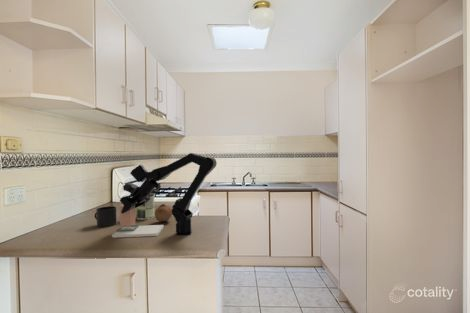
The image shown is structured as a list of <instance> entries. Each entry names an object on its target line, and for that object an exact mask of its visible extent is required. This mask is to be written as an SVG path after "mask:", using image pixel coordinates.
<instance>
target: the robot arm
mask: <svg viewBox="0 0 470 313" xmlns="http://www.w3.org/2000/svg"><path fill="white" fill-rule="evenodd" d="M192 163H194V164H195V165H197V166H199V167H198V170H197V174H196V175H195V177H194V178H193V180H192V182H191V183H190V185H189V187H188V188H187V189H186V192H185V193H184V195H183V197H182V198H181V197H179V198H177V199H176V200H175V201H174V204H173V206H171V209H172V216H173V217H174V220H175V222H176V223H175V233H176V236H180V235H181V236H182V235H185V236H186V235H191V234H192V232H193V229H192V217H193V212H192V211H191V210H190V206H191V203H192V200H193V198H194V196H195V195H196V194H197V192H198V190H199V188H200V187H201V186H202V184H203V182H204V181H205V179H206V178H207V176H208V175H209V174H211V173H212V172H213V170H214V169H215V168H216V167H217V164H218V163H217V160H216V159H215V157H213V156H208V157H207V156H206V157H205V156H203V155H199V154H197V153H194V152H193V153H192V152H189V153H188V154H187V155H185V156H184V157H181V158H179V159H177V160H175V161H173V162H171V163H170V164H168V165H165V166H161V167H158V168H154V169H152V170H151V171H148V170H147V169H146V168H145V166H144V165H143V164H139V165H138V166H136V167H134V168H133V169H132V170H131V171H130V175H131V176H132V177H133V178H134V179H135V181H137V182H138V183H141V185H140V186H138V185H137V184H134V183H132V182H127V183H124V185H122V187H123V191H126V192H128V193H129V195H125V196H122V197H121V198H119V202H120V203H121V205H124V206H123V209H122V211H121V213H122V214H123V213H125V212H127V211H129V210H131V209H133V208H135V209H136V208H137V207H139V206H141V205H143V204H144V202H143V201H145V200H146V201H145V203H147V202H148V201H149V200H150V197H149V195H150V193H153V191H154V190H155V189H156V190H159V189H161V182H160V181H163V180H165V179H167V178H168V177H169V176H170V175H171V174H172V173H174V172H176V171H178V170H179V169H181V168H184V167H186V166H188V165H190V164H192ZM134 206H135V207H134Z"/></svg>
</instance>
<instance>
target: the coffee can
mask: <svg viewBox="0 0 470 313" xmlns="http://www.w3.org/2000/svg"><path fill="white" fill-rule="evenodd" d="M149 197H150V200H149V201H148V202H147V203H145V201H146V200H145V201H143V202H144V204H143V205H141V206H139V207H137V208H135V213H136V220H139V221H146V220H151V219H154V218H155V192H151V193H150V195H149Z"/></svg>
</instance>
